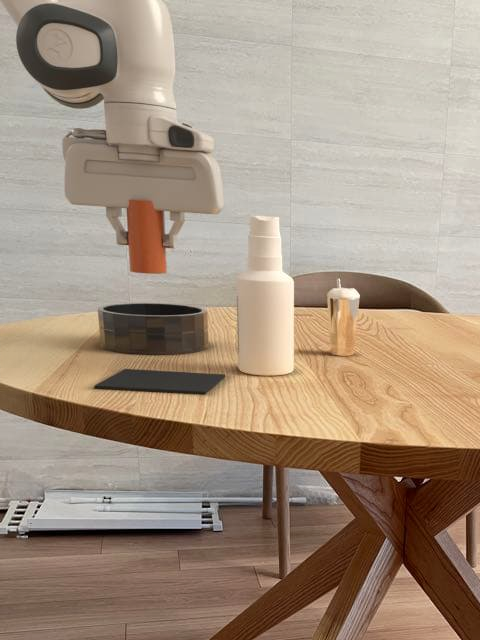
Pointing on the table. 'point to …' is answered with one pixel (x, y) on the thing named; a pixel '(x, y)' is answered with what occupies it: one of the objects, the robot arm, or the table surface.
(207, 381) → the mat
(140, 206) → the orange cylinder
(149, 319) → the pot
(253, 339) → the spray bottle
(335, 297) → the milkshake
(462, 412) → the table surface
